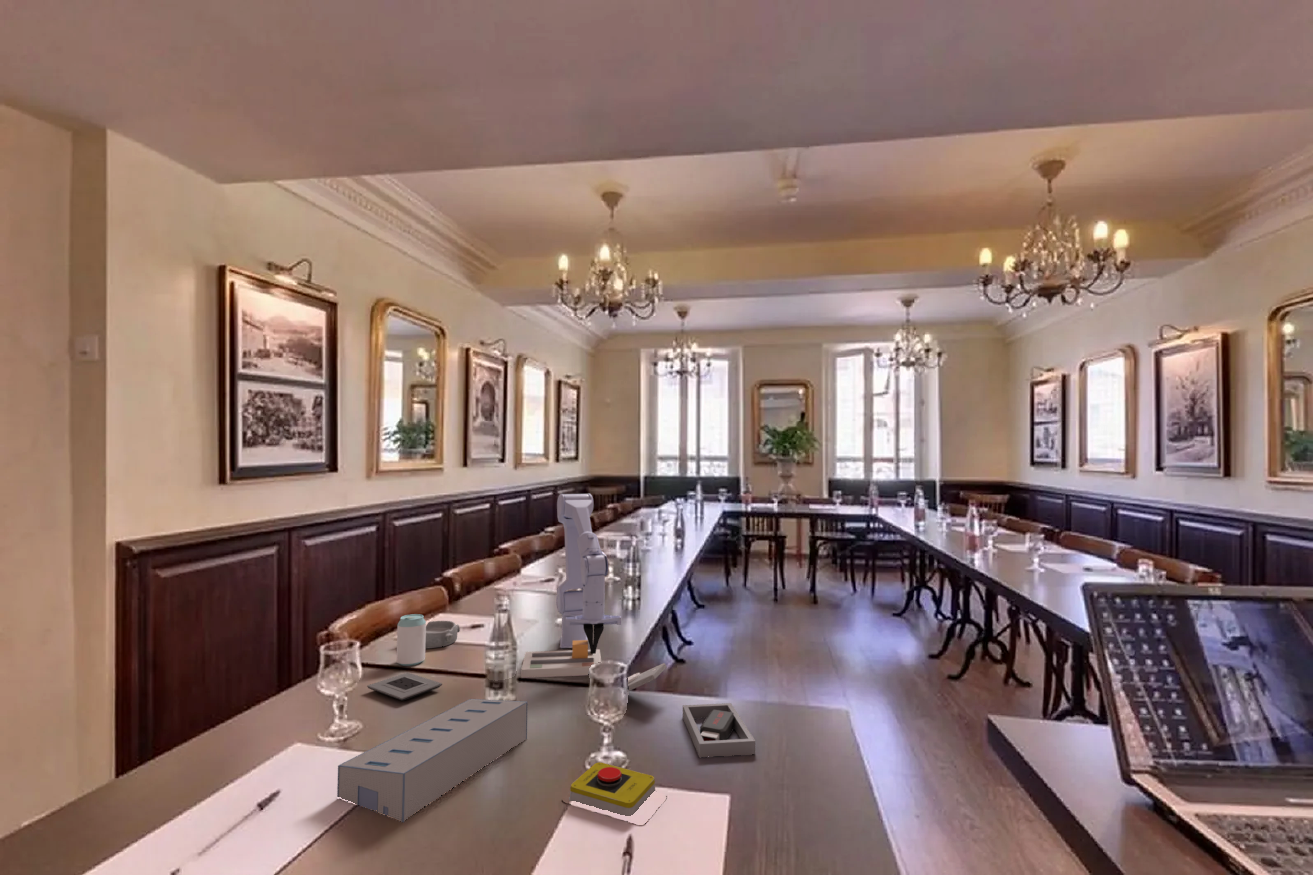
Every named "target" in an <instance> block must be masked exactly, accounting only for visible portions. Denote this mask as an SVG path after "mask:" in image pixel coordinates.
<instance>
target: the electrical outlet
mask: <svg viewBox="0 0 1313 875" xmlns="http://www.w3.org/2000/svg"><path fill="white" fill-rule="evenodd" d="M442 685H443V683H442V682H438V681H436V680H433V679H431V678H426V677H423V676H420V675H417V674H413V673H411V672H405V673H402V674H399V675H395V676H392V677H389V678H387V679H383V680H380V681H377V682H374V683H372V684H368V685H366V687H367V688H368V689H370V690H371V691H375V692H377V693H380V694H382V695H385V696H389V697H390V698H392V699H397V700H398V701H401V702H403V701H407V700H408V699H412V698H413V697H414V698H415V697H417V696H419V695H423V694H425V693H428V692H431V691H434V690H436V689H439V688H440V687H441V686H442Z"/></svg>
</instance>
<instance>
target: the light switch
mask: <svg viewBox="0 0 1313 875" xmlns="http://www.w3.org/2000/svg"><path fill="white" fill-rule="evenodd" d="M666 669H667V665H666V663H664V662H663V663H661V664H659V665H656V666H655V667H653V668H649V669H648V670H645V671H644V672H636V673H633V674H632V675H630V676H627V678H628V686H629V691H628V692H630V691H632V690H634V689H637V688H639V687H641V686H643V685H645V684H648V683H649V682H652V681H655V680H656V679H657V678H658V677H659V675H661V674H662V672H664V670H666Z"/></svg>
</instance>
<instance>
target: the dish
mask: <svg viewBox="0 0 1313 875" xmlns="http://www.w3.org/2000/svg"><path fill="white" fill-rule="evenodd" d="M460 628H461V627H460V625H459V624H456V622H454V621H451V620H433V621H429V622H427V623H426V642H425V649H435V648H436V649H437V648H441V647H442V646H443V647H446V646H450V645H451V644H454V641H455V642H456V641H457V639H458V633H460V632H461V629H460Z"/></svg>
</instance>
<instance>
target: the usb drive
mask: <svg viewBox="0 0 1313 875" xmlns="http://www.w3.org/2000/svg"><path fill="white" fill-rule="evenodd" d="M733 714H734V713H733V712H727V711H721V710H712V711H711V712H710V713H709V715H708V716H707V718H704V721H703V722H702V724H701V725H700V727H699V732H700V734H701V736H702V738H703V740H704V741H716V740H729V737H730V736H731V734H732V732H733V730H735V729H734V715H733Z"/></svg>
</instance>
